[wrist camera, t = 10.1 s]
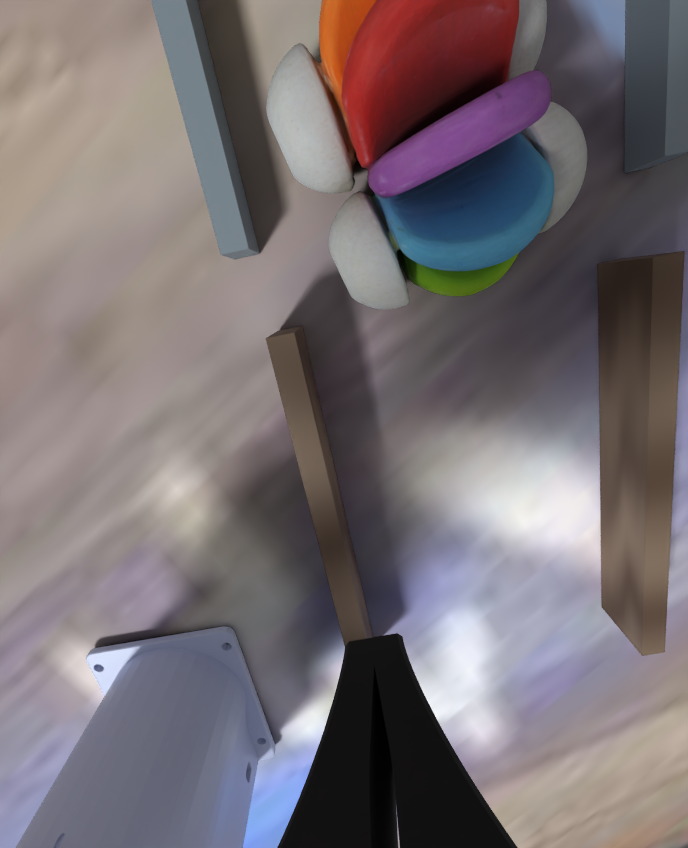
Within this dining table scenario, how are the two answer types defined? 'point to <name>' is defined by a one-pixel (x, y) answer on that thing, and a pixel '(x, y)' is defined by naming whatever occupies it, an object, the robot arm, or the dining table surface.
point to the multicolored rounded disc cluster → (429, 140)
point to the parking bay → (215, 157)
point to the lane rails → (619, 449)
